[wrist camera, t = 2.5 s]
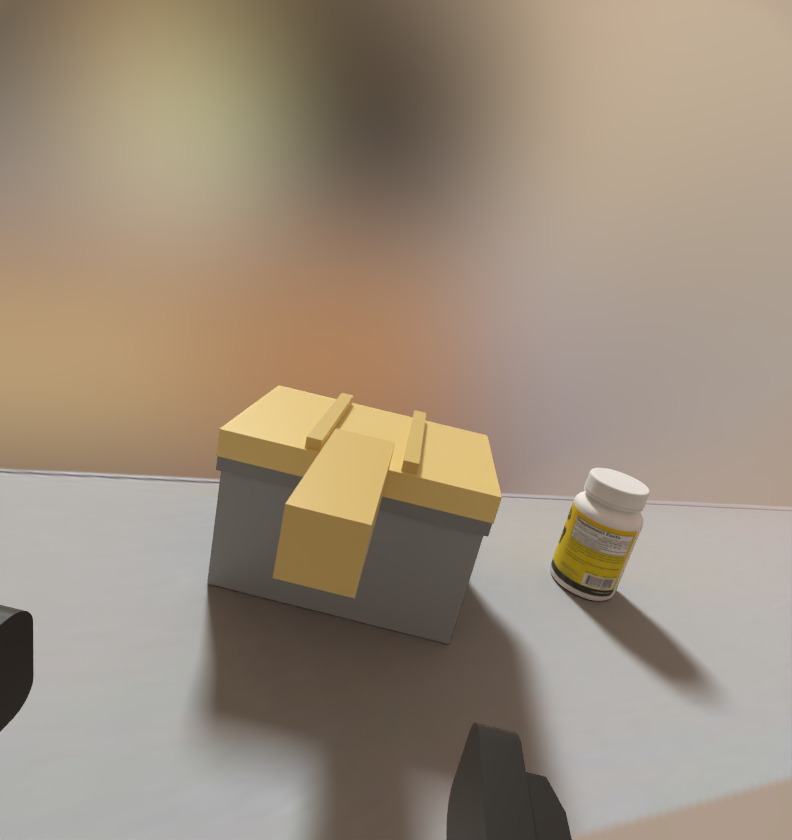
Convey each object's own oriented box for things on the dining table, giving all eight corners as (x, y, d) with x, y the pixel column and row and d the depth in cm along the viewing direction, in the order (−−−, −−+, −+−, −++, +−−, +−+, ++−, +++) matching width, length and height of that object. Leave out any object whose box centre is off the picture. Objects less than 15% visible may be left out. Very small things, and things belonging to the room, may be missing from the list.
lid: (117, 539, 18) (121, 463, 17) (275, 406, 35) (282, 364, 34) (513, 638, 18) (539, 566, 17) (481, 455, 35) (493, 414, 34)
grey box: (202, 585, 29) (217, 455, 26) (260, 508, 38) (276, 406, 35) (452, 648, 28) (492, 522, 26) (451, 555, 37) (480, 455, 35)
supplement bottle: (568, 556, 41) (603, 461, 38) (624, 590, 38) (667, 490, 35) (536, 572, 38) (573, 469, 35) (595, 611, 35) (639, 502, 32)
